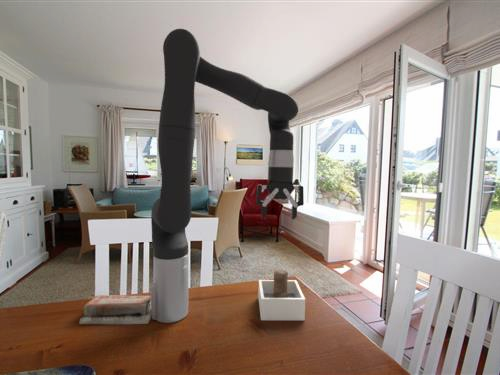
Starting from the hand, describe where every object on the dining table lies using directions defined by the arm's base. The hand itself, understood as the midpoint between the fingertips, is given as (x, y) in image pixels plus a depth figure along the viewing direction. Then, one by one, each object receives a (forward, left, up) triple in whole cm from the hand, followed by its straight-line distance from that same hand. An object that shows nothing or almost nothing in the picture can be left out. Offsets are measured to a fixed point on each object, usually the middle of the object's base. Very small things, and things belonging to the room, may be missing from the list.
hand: (279, 218), depth 80 cm
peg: (0, -5, -26) cm, 26 cm away
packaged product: (-44, -8, -27) cm, 52 cm away
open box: (0, -5, -26) cm, 26 cm away
